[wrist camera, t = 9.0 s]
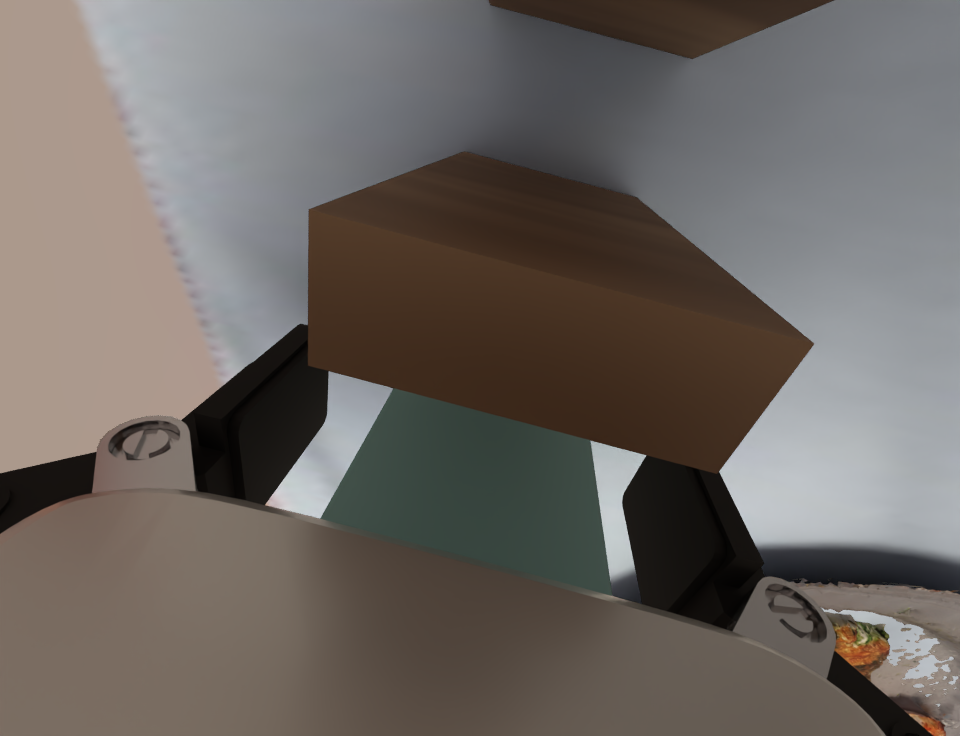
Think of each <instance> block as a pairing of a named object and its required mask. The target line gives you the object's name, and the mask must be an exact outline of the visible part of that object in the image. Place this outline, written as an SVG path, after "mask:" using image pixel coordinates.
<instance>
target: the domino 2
mask: <svg viewBox="0 0 960 736" xmlns="http://www.w3.org/2000/svg"><path fill="white" fill-rule="evenodd" d="M320 519H323V520H327V521H331V522H335V523H339V524H342V525H346V526H350V527H354V528H358V529H362V530H366V531H369V532H373V533H377V534H381V535H385V536H389V537H393V538H396V539H400V540H404V541H408V542H412V543H416V544H419V545H423V546H427V547H431V548H435V549H438V550H442V551H446V552H450V553H454V554H457V555H461V556H465V557H469V558H472V559H476V560H480V561H484V562H488V563H491V564H495V565H499V566H503V567H506V568H510V569H514V570H518V571H521V572H525V573H529V574H533V575H536V576H540V577H544V578H547V579H551V580H555V581H559V582H562V583H566V584H570V585H573V586H577V587H581V588H584V589H588V590H592V591H595V592H599V593H603V594H607V595H610V596H612V590H611V583H610V576H609V569H608V562H607V555H606V548H605V541H604V534H603V527H602V520H601V513H600V506H599V499H598V492H597V485H596V478H595V470H594V463H593V456H592V449H591V442H590V440H587V439H583V438H580V437H576V436H572V435H568V434H565V433H561V432H557V431H553V430H549V429H546V428H542V427H538V426H534V425H531V424H527V423H523V422H519V421H515V420H512V419H508V418H504V417H500V416H497V415H493V414H489V413H485V412H482V411H478V410H474V409H470V408H466V407H463V406H459V405H455V404H451V403H448V402H444V401H440V400H436V399H432V398H429V397H425V396H421V395H417V394H414V393H410V392H406V391H402V390H399V389H395V388H394V389H393V391H392V392H391V394H390V396H389V398H388V399H387V401H386V403H385V405H384V407H383V408H382V410H381V412H380V414H379V415H378V417H377V419H376V421H375V422H374V424H373V426H372V428H371V430H370V431H369V433H368V435H367V437H366V438H365V440H364V442H363V444H362V446H361V447H360V449H359V451H358V453H357V454H356V456H355V458H354V460H353V462H352V463H351V465H350V467H349V469H348V470H347V472H346V474H345V476H344V478H343V479H342V481H341V483H340V485H339V486H338V488H337V490H336V492H335V493H334V495H333V497H332V499H331V501H330V502H329V504H328V506H327V508H326V509H325V511H324V513H323V515H322V517H321V518H320Z"/></svg>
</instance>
